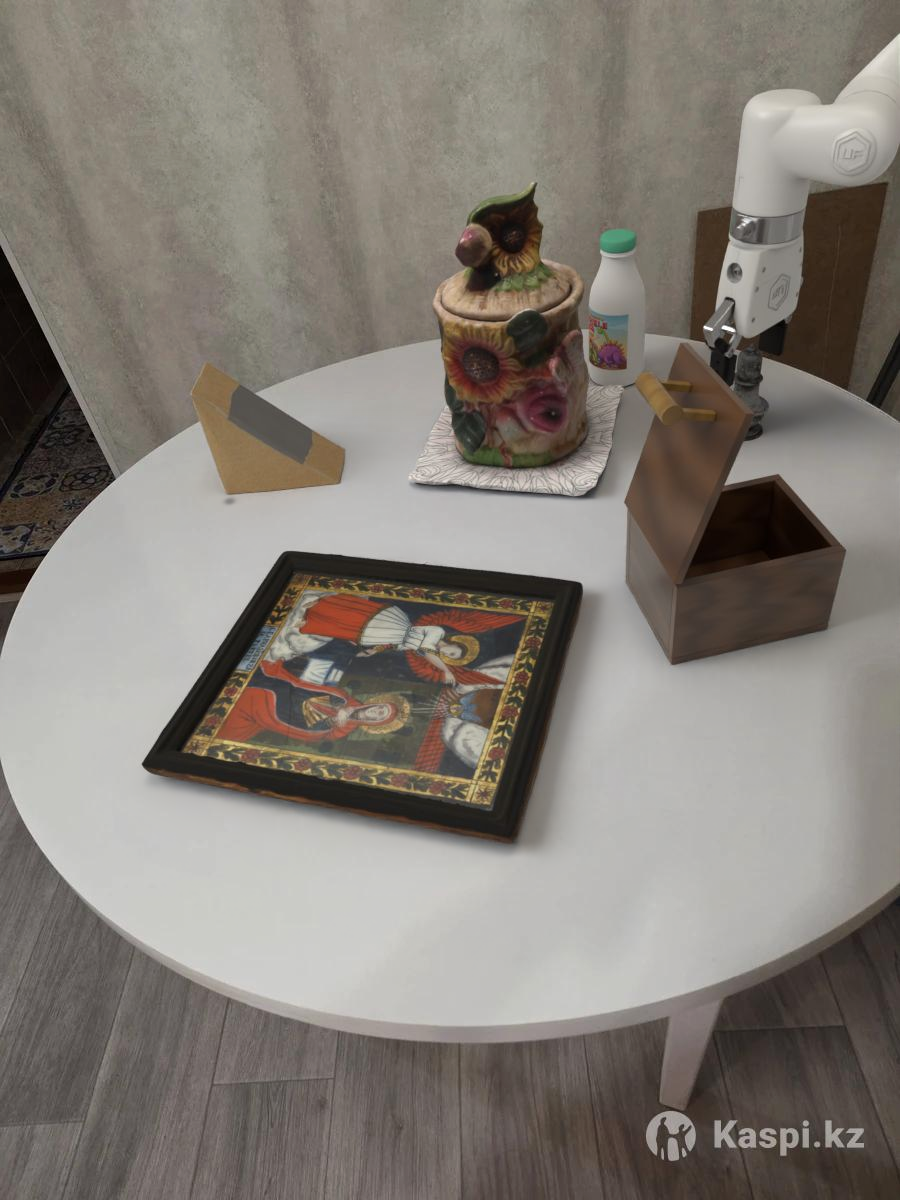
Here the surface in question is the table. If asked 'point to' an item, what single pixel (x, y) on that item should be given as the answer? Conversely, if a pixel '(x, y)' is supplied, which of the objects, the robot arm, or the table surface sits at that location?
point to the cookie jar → (515, 365)
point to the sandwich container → (260, 439)
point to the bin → (740, 575)
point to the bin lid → (685, 457)
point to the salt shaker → (751, 387)
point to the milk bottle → (617, 313)
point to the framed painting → (381, 692)
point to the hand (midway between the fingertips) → (745, 367)
